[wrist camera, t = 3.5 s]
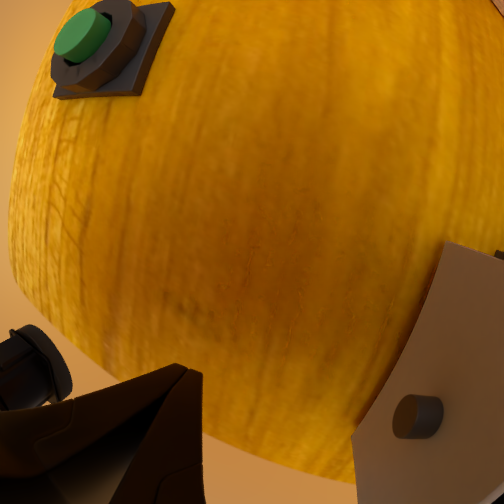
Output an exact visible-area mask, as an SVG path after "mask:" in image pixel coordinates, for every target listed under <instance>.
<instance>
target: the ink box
mask: <svg viewBox="0 0 504 504" xmlns="http://www.w3.org/2000/svg"><path fill="white" fill-rule="evenodd" d="M492 1H493V3H494V4H495V5H496V7H497V8H498V9H499V11H500V12H501V14H502V15H503V16H504V0H492Z"/></svg>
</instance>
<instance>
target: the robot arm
mask: <svg viewBox="0 0 504 504" xmlns="http://www.w3.org/2000/svg"><path fill="white" fill-rule="evenodd" d="M9 333H10V338H9V339H7V340H5V341H3V342H2V343H0V504H206V501H205V496H204V484H203V465H202V461H203V460H202V397H203V374H202V373H201V372H199V371H196V370H193V369H188V368H187V367H185V366H183V365H180V364H178V363H173V364H170V365H168V366H165V367H163V368H160V369H158V370H155V371H152V372H150V373H147V374H144V375H142V376H139V377H136V378H133V379H130V380H128V381H125V382H122V383H119V384H116V385H113V386H110V387H107V388H104V389H102V390H98V391H95V392H92V393H89V394H85V395H82V396H79V397H76V398H74V400H73V399H69V400H65V401H62V402H60V399H59V396H58V392H57V388H56V384H55V379H54V375H53V370H52V365H51V361H50V359H49V358H48V357H47V356H46V355H45V354H43V353H42V352H41V351H39V350H38V349H37V348H36V347H34V346H33V345H32V344H31V343H29V342H28V341H27V340H26V339H25V338H23V337H22V336H21V335H20V334H19V333H18V332H17V331H15V330H14V329H11V330H9ZM46 401H49V402H50V403H51V404H50V405H45V406H42V405H43V404H44V403H45V402H46Z"/></svg>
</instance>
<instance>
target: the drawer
mask: <svg viewBox="0 0 504 504" xmlns="http://www.w3.org/2000/svg"><path fill="white" fill-rule="evenodd" d="M351 440H352V448H353V456H354V465H355V475H356V486H357V497H358V504H504V261H503V260H501V259H498V258H496V257H493V256H490V255H487V254H485V253H482V252H479V251H476V250H473V249H471V248H468V247H465V246H462V245H459V244H456V243H453V242H450V241H445V245H444V248H443V252H442V255H441V258H440V261H439V264H438V267H437V270H436V273H435V276H434V279H433V282H432V285H431V287H430V290H429V293H428V295H427V298H426V301H425V303H424V306H423V308H422V310H421V313H420V315H419V317H418V320H417V322H416V324H415V327H414V329H413V331H412V333H411V335H410V337H409V340H408V342H407V344H406V346H405V348H404V350H403V352H402V354H401V356H400V358H399V360H398V362H397V363H396V365H395V367H394V369H393V371H392V373H391V375H390V376H389V378H388V380H387V382H386V383H385V385H384V387H383V388H382V390H381V392H380V393H379V395H378V397H377V398H376V400H375V402H374V403H373V405H372V406H371V408H370V409H369V411H368V413H367V414H366V416H365V417H364V419H363V420H362V422H361V423H360V424H359V426H358V427H357V429H356V430H355V432H354V433H353V434H352V436H351Z"/></svg>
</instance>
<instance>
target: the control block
mask: <svg viewBox="0 0 504 504" xmlns="http://www.w3.org/2000/svg"><path fill="white" fill-rule="evenodd" d="M90 8H92V9H94V10H96V11H97V12H99V13H100V14H101V15H103V16H104V17H105V18H107V19H108V20H109V21H110V23H111V30H110V32H109V34H108V36H107V38H106V40H105V41H104V43H103V44H102V45H101V46H100V47H99V49H98V50H97V51H96V52H95V53H94V55H92V56H91V57H90V58H88V59H87V60H85V61H83V62H81V63H74V62H72V61H70V60H67V59H65V58H63V57H61V56H58V55H57V54H56V53H55V52H54V54H53V56H52V60H51V78H52V79H53V80H54V81H55V83H56V84H57V85H56V88H55V91H54V94H53V98H57V99H60V100H63V99H72V98H83V97H98V96H133V95H135V96H138V95H140V94H141V92H142V89H143V86H144V83H145V80H146V77H147V74H148V71H149V69H150V66H151V63H152V61H153V58H154V56H155V53H156V51H157V48H158V46H159V43H160V41H161V39H162V36H163V34H164V32H165V30H166V28H167V25H168V23H169V21H170V19H171V17H172V15H173V13H174V11H175V8H174V6H173V5H172V4H171V3H170V2H162V3H156V4H150V5H144V6H138V7H136V6H135V5H134V4H133V3H132V2H131V1H129V0H103V1H100V2H97V3H96V4H94V5H93V6H92V7H90Z"/></svg>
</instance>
